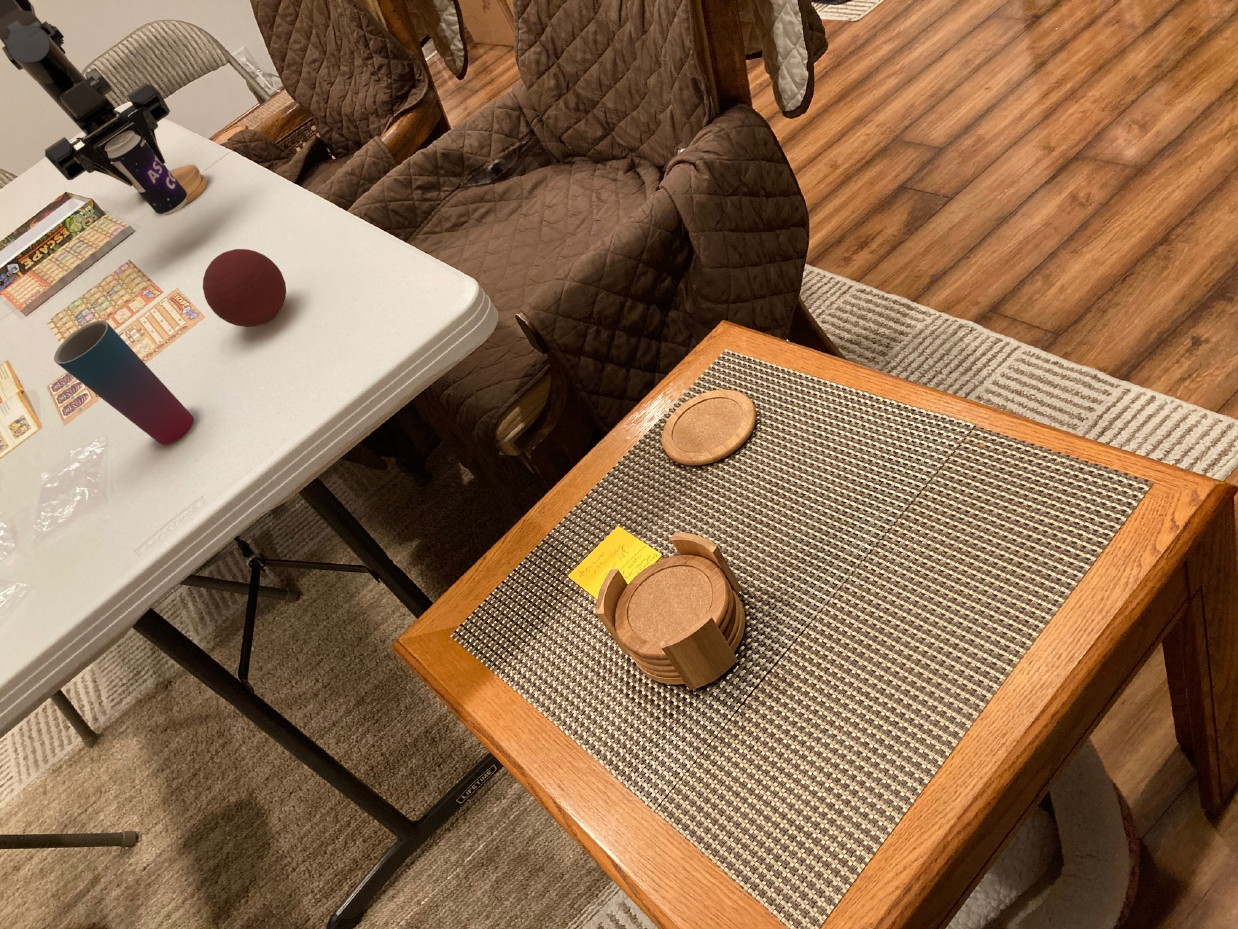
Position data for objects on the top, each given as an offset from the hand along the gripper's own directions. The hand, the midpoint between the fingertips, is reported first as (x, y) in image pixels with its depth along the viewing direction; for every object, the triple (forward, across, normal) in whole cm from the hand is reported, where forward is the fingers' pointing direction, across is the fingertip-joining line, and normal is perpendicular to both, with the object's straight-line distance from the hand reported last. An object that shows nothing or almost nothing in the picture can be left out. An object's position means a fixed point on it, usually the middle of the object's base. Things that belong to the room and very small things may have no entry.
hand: (147, 173), depth 132 cm
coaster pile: (-8, +4, +26) cm, 28 cm away
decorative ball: (+34, -2, -16) cm, 38 cm away
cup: (+40, -20, -23) cm, 50 cm away
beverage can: (+4, 0, +6) cm, 7 cm away
